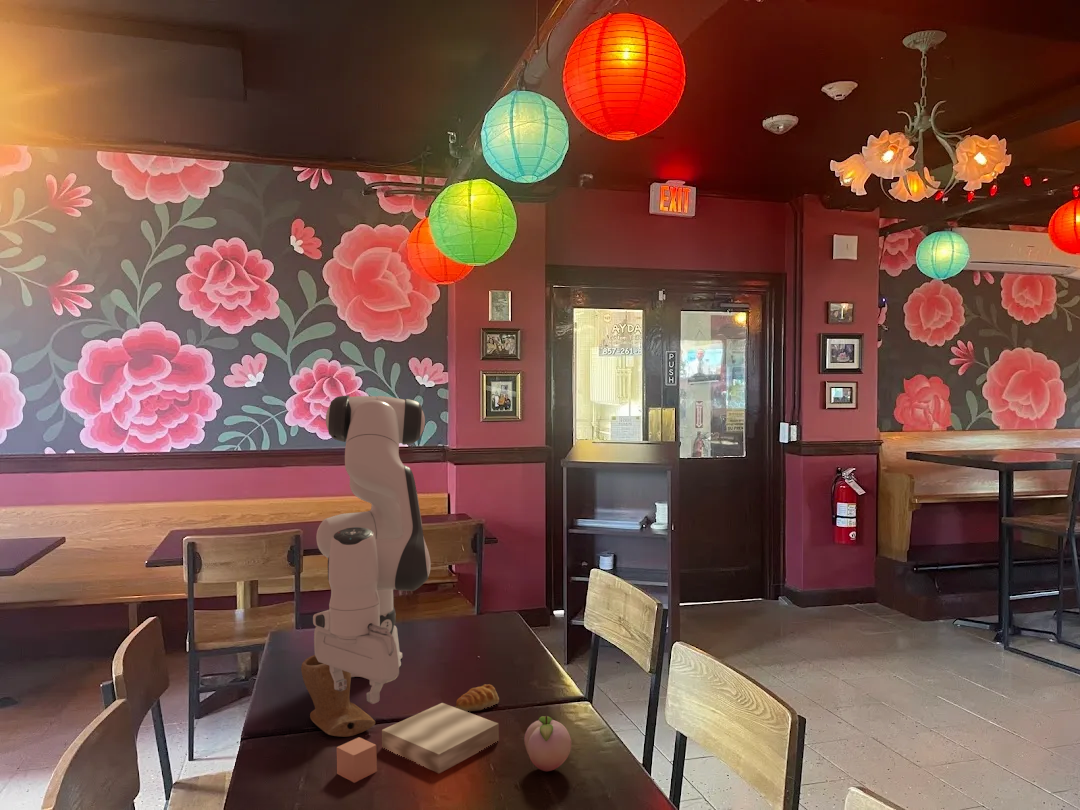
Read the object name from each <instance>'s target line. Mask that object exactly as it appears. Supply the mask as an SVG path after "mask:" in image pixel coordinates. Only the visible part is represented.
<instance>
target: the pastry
mask: <svg viewBox="0 0 1080 810" xmlns="http://www.w3.org/2000/svg"><path fill="white" fill-rule="evenodd" d="M499 702H500V697H499V695H498V693H497V691H496V688H495V687H494V685H492V684H490V683H489V684H485V683H484V684H483V685H481V686H477V687H472V688H469V690H468V691H467V692H465V693H463V694H462V695H461V696H460V697H458V698H457V699H456V702H455V703H456V704H455V708H458V709H461V710H463V711H466V712H468V711H469V712H475V711H476V712H477V711H482V710H485V709H488V708H487V707H489V708H492V707H494V706H493V705H495V704H497V705H498V704H499ZM491 706H492V707H491ZM495 706H496V705H495ZM484 708H485V709H484Z"/></svg>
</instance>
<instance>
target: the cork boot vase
mask: <svg viewBox="0 0 1080 810" xmlns="http://www.w3.org/2000/svg"><path fill="white" fill-rule="evenodd" d="M300 668H301V675H302V680H303V683H304V685H305V687H306V690H307V692H308V693H309V695H310V698H311V701H312V702H313V706H314V709H312V711H311V712H310V714H309V715H310V716H309V718H310V720H311V722H312V723H314V725H315V726H316V727H318V728H319V729H320V730H321V731H322V732H324V733H325V734H327V735H328V736H332V737H333V736H334V737H342V738H343V737H345V738H348V737H353V736H357V735H358V734H361V733H364V732H366V731H367V730H369V729H371V728H373V727H374V726H375V724H376V721H375V720H374V719H373V717H372V716H371V715H370V714H368V713H366V712H365V711H364V710H363V709H362V708H361V707H359V706H358V705H356V704H355V703H354V702H351V701H350V693H351V692H350V690H351V682H352V681H351V680H352V677H351V673H349V672H346V671H343V670H342V672H343V676H344V679H346V680H347V684H346V685H347V688H346V690H343V691H337V690H335V689H334V680H333V678H332V675H331V673H330V667H329V665H326V664H323V663H320V662H318V660H317V658H316V656H315V654H313V655H311V656H308V657H307V658H305V659H304V661H302V664H301V667H300Z"/></svg>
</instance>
